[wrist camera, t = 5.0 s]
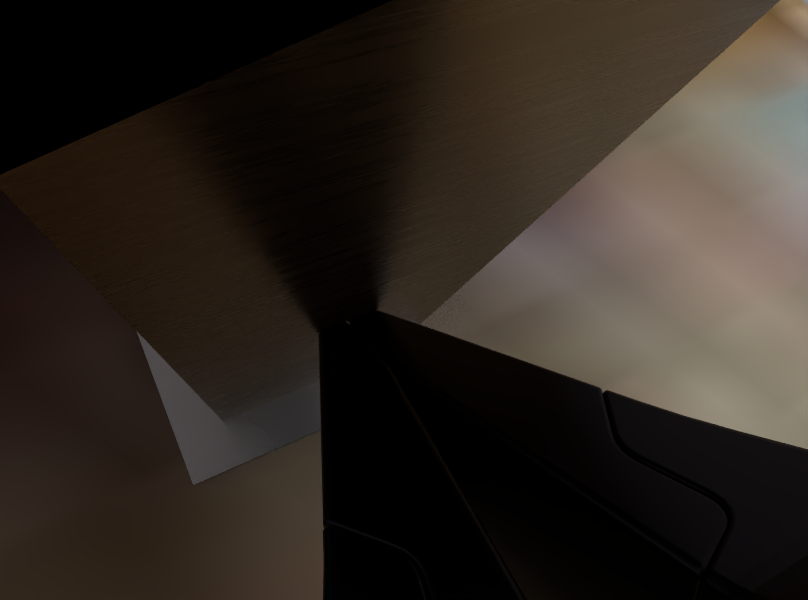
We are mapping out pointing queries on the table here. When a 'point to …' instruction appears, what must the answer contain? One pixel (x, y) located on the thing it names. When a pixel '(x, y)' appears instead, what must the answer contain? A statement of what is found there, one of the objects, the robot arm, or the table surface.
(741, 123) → the table surface
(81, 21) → the sweeper
